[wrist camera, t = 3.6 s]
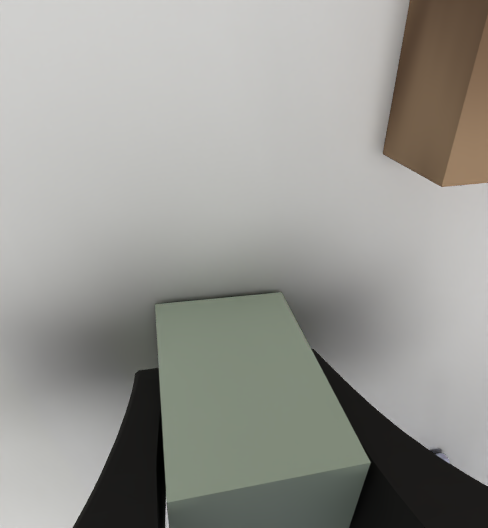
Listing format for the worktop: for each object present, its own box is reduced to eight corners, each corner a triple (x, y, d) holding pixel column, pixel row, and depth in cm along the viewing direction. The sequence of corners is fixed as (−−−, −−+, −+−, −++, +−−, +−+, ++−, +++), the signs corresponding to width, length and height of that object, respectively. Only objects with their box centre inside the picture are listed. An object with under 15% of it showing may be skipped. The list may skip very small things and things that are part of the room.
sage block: (271, 380, 15) (338, 559, 10) (162, 396, 14) (176, 599, 9) (281, 292, 13) (370, 463, 8) (154, 304, 12) (166, 502, 7)
